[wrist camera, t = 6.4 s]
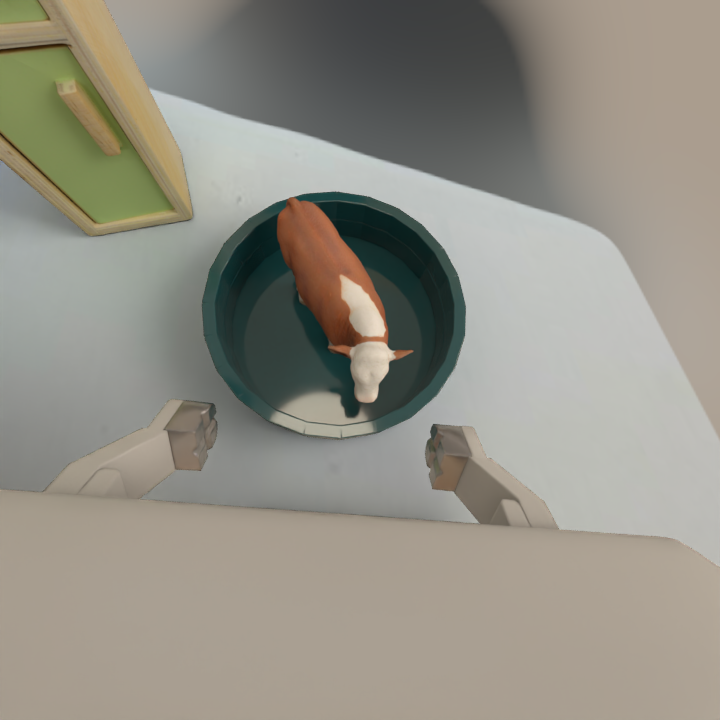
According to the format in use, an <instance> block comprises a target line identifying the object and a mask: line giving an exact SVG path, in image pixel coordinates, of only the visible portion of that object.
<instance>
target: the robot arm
mask: <svg viewBox="0 0 720 720" xmlns="http://www.w3.org/2000/svg"><path fill="white" fill-rule="evenodd" d="M215 414H216V408H215V405H214V404H213V403H205V402H197V401H188V400H186V401H185V400H177V399H170V400H168V401H167V403H166V404H165V405H164V406H163V408H162V409H161V410H160V412H159V413H158V414H157V415H156V417H155V418H154V419H153V421H152V422H151V423H150V424H149V426H148V427H147V428H141V429H139V430H137V431H135V432H133V433H131V434H129V435H127V436H125V437H123V438H121V439H119V440H117V441H115V442H113V443H111V444H109V445H107V446H104V447H102V448H100V449H98V450H96V451H94V452H92V453H90V454H88V455H86V456H84V457H82V458H80V459H78V460H76V461H74V462H72V463H70V464H68V465H67V466H66V467H65V468H64V469H63V470H62V472H61V473H60V474H59V475H58V476H57V477H56V478H55V479H54V480H53V481H52V482H51V483H50V484H49V485H48V486H47V487H46V489H45V490H44V491H43V492H34V491H20V490H6V489H0V720H720V567H719V566H717V565H716V564H714V563H713V562H711V561H710V560H708V559H707V558H706V557H704V556H703V555H701V554H700V553H698V552H697V551H695V550H693V549H692V548H690V547H688V546H687V545H685V544H683V543H682V542H680V541H678V540H675V539H671V538H667V537H658V536H642V535H628V534H614V533H601V532H587V531H573V530H559V528H558V526H557V524H556V522H555V520H554V518H553V517H552V515H551V513H550V511H549V509H548V507H547V506H546V504H545V502H544V501H543V500H542V499H540V498H539V497H538V496H537V495H536V494H534V493H533V492H532V491H531V490H529V489H528V488H527V487H526V486H524V485H523V484H522V483H521V482H519V481H518V480H517V479H516V478H514V477H513V476H512V475H511V474H510V473H508V472H507V471H506V470H505V469H503V468H502V467H501V466H500V465H498V464H497V463H496V462H495V461H493V460H492V459H491V458H487V457H486V454H485V452H484V450H483V448H482V445H481V443H480V441H479V439H478V436H477V434H476V432H475V430H474V428H473V427H468V426H451V425H440V424H433V426H432V428H431V431H430V433H431V438H430V439H429V440H428V441H427V444H426V449H425V459H426V464H427V466H428V467H429V468H430V472H429V478H430V482H431V486H432V489H435V490H445V491H454V493H455V494H456V495H457V496H458V498H459V499H460V500H461V501H462V502H463V504H464V505H465V506H466V507H467V508H468V510H469V511H470V512H471V513H472V514H473V516H474V517H475V518H476V519H477V520H478V522H479V523H480V524H476V523H462V522H448V521H434V520H419V519H406V518H392V517H379V516H365V515H352V514H338V513H324V512H310V511H296V510H282V509H268V508H254V507H240V506H227V505H213V504H199V503H185V502H171V501H157V500H144V499H140V498H141V497H142V496H143V495H145V494H146V493H147V492H149V491H150V490H151V489H153V488H154V487H155V486H156V485H158V484H159V483H160V482H162V481H163V480H164V479H166V478H167V477H168V476H170V475H171V474H172V473H173V472H175V470H194V471H201V469H202V467H203V465H204V463H205V461H206V459H207V457H208V453H207V450H209V449H210V448H212V447H213V445H214V443H215V441H216V437H217V431H218V424H217V421H216V420H215V419H214V418H213V417H214V415H215Z"/></svg>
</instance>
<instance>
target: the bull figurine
mask: <svg viewBox="0 0 720 720" xmlns="http://www.w3.org/2000/svg"><path fill="white" fill-rule="evenodd" d="M277 238H278V242H279V244H280V248H281V251H282V254H283V258H284V260H285V263H286V264H287V266H288V267H289V268H290V269H292V272H293V275H294V276H295V282H296V286H297V291H298V293H299V301H300V303H301V304H303V305H306V306H307V307H308V308H309V309H310V310H311V311H312V312H313V314H314V316H315V317H316V319H317V321H318V322H319V324H320V325H321V327H322V329H323V331H324V333H325V334H326V336H327V338H328V341H329V346H328V349H329V350H330V352H331V353H334V354H341V355H343V356H345V357H347V358H349V359H351V361H352V362H351V366H350V369H351V374H352V378H353V380H354V382H355V387H354V394H355V398H356V399H357V400H358V401H360V402H364V403H371V402H374V401H375V399H376V398H377V396H378V390H379V383H380V382H381V381H382V380H383V378H384V377H385V375H386V374H387V373H388V371H389V362H390V361H393V360H398V359H400V358H402V357H404V356H406V355H408V354H410V353H412V352H413V350H396V351H392V350H390V349H389V348H388V346H387V345H388V327H387V324H386V319H385V310H384V307H383V304H382V302H381V300H380V298H379V296H378V294H377V292H376V291H375V288H374V286H373V283H372V281H371V279H370V277H369V275H368V274H367V272H366V270H365V269H364V267H363V265H362V263H361V262H360V260H359V259H358V257H357V256H356V255H355V254H354V252H353V251H352V250H351V249H350V248H349V247H348V246H347V244H346V243H345V242H344V241H343V240H342V239H341V238H340V236H339V233H338V231H337V230H336V228H335V227H334V225H333V224H332V222H331V221H330V220H329V218H328V217H327V216H326V215H325V213H324V212H323V211H322V210H321V209H320V208H318V207H317V206H316V205H315V204H313V203H311V202H308V201H301V202H299V201H298V200H297V199H296V198H294V197H290V198H289V199H288V200H287V203H286V208H285V209H283V210H282V211H281V212H280V213H279V215H278V219H277Z"/></svg>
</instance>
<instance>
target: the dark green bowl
mask: <svg viewBox="0 0 720 720" xmlns="http://www.w3.org/2000/svg"><path fill="white" fill-rule="evenodd" d="M294 198H296V199H297V200H298V201H299V202H301V201H308V202H311V203H313V204H315V205H316V206H317V207H318V208H320V209H321V210H322V211H323V212H324V213H325V215H326V216H327V217H328V218H329V220H330V221H331V222H332V224H333V225H334V227H335V228H336V230H337V231H338V233H339V236H340V238H341V239H342V240H343V241H344V242H345V243H346V244H347V246H348V247H349V248H350V249H351V250H352V251H353V252H354V254H355V255H356V256H357V257H358V259H359V260H360V262H361V263H362V265H363V267H364V269H365V270H366V272H367V274H368V275H369V277H370V279H371V281H372V283H373V286H374V288H375V291H376V292H377V294H378V296H379V298H380V300H381V302H382V304H383V307H384V310H385V319H386V324H387V327H388V345H387V346H388V348H389V349H390V350H392V351H396V350H413V352H412V353H410V354H408V355H406V356H404V357H402V358H400V359H398V360H393V361H390V362H389V371H388V373H387V374H386V375H385V377H384V378H383V380H382V381H381V382H380V383H379V390H378V396H377V398H376V399H375V401H374V402H371V403H364V402H360V401H358V400H357V399H356V398H355V394H354V387H355V382H354V380H353V378H352V374H351V369H350V366H351V362H352V361H351V359H349V358H347V357H345V356H343V355H341V354H334V353H331V352H330V350H329V349H328V346H329V341H328V338H327V336H326V334H325V333H324V331H323V329H322V327H321V325H320V324H319V322H318V321H317V319H316V317H315V316H314V314H313V312H312V311H311V310H310V309H309V308H308V307H307V306H306V305H303V304H301V303H300V301H299V293H298V291H297V286H296V282H295V276H294V275H293V272H292V269H290V268H289V267H288V266H287V264H286V263H285V260H284V258H283V254H282V251H281V248H280V244H279V242H278V238H277V219H278V215H279V213H280V212H281V211H282V210H283V209H285V208H286V203H287V200H288V199H286V200H283V201H280V202H277V203H275V204H273V205H271V206H269V207H268V208H266V209H264V210H263V211H261V212H259V213H258V214H256V215H254V216H253V217H251V218H249V219H248V220H247V221H246V222H245V223H244V224H243V225H242V226H241V227H240V228H239V229H238V230H237V231H236V232H235V233H234V234H233V235H232V236H231V237H230V238H229V239H228V240H227V241H226V243H224V245H223V247H222V249H221V250H220V252H219V254H218V256H217V258H216V259H215V261H214V263H213V265H212V266H211V268H210V271H209V274H208V278H207V283H206V287H205V291H204V296H203V300H202V314H203V330H204V337H205V341H206V344H207V346H208V349H209V352H210V354H211V357H212V360H213V362H214V365H215V368H216V369H217V372H218V373H219V374H220V376H221V377H222V378H223V380H224V381H225V382H226V384H227V385H228V386H229V388H230V389H231V390H232V392H233V393H234V394H235V396H236V397H237V398H238V399H239V400H240V401H242V402H243V403H244V404H246V405H247V406H248V407H250V408H251V409H252V410H253V411H255V412H256V413H257V414H259V415H260V416H261V417H263V418H264V419H265V420H267V421H269V422H271V423H273V424H276V425H278V426H280V427H283V428H286V429H288V430H291V431H293V432H296V433H298V434H301V435H303V436H307V437H313V438H322V439H332V440H343V439H349V438H355V437H361V436H367V435H371V434H376V433H379V432H381V431H383V430H386V429H388V428H390V427H392V426H394V425H396V424H399V423H401V422H403V421H405V420H407V419H409V418H410V417H412V416H414V415H415V414H416V413H417V412H418V411H419V410H420V409H422V408H423V407H424V406H425V405H426V404H427V403H429V402H430V401H431V400H432V399H433V398H434V397H436V396H437V394H438V393H439V392H440V390H441V389H442V387H443V386H444V384H445V382H446V381H447V379H448V378H449V376H450V375H451V373H452V372H453V370H454V369H455V366H456V364H457V360H458V357H459V354H460V351H461V347H462V344H463V341H464V336H465V315H466V305H465V301H464V297H463V293H462V289H461V285H460V281H459V277H458V276H457V275H458V274H457V272H456V270H455V268H454V267H453V265H452V263H451V261H450V259H449V257H448V255H447V254H446V252H445V250H444V249H443V247H442V246H441V245H440V244H439V243H438V242H437V241H436V239H435V238H434V237H433V236H432V235H431V234H430V233H429V232H428V231H427V230H426V229H425V227H424V226H422V224H420V223H419V222H417V221H416V220H414V219H413V218H411V217H410V216H409V215H407V214H406V213H404V212H403V211H401V210H400V209H398V208H396V207H394V206H391V205H389V204H386V203H384V202H381V201H378V200H376V199H373V198H371V197H367V196H362V195H355V194H349V193H342V192H323V193H309V194H303V195H299V196H296V197H294Z"/></svg>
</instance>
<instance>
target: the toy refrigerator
mask: <svg viewBox="0 0 720 720" xmlns="http://www.w3.org/2000/svg"><path fill="white" fill-rule="evenodd" d="M0 160H1V161H3V162H4V163H5V164H6V165H7V166H8V167H10V168H11V169H12V170H13V171H14V172H15V173H16V174H18V175H19V176H20V177H21V178H22V179H23V180H25V181H26V182H27V183H28V184H29V185H30V186H32V187H33V188H34V189H35V190H36V191H37V192H38V193H40V194H41V195H42V196H43V197H44V198H45V199H47V200H48V201H49V202H50V203H51V204H52V205H54V206H55V207H56V208H57V209H58V210H59V211H61V212H62V213H63V214H64V215H65V216H66V217H68V218H69V219H70V220H71V221H72V222H73V223H75V224H76V225H77V226H78V227H79V228H80V229H82V230H83V231H84V232H85V233H86V234H88V235H89V236H97V235H104V234H109V233H115V232H121V231H126V230H132V229H137V228H143V227H148V226H154V225H160V224H166V223H172V222H178V221H184V220H189V219H191V218H192V216H193V212H192V206H191V200H190V195H189V190H188V185H187V180H186V175H185V170H184V165H183V160H182V156H181V152H180V149H179V147H178V145H177V143H176V141H175V140H174V138H173V136H172V134H171V132H170V130H169V128H168V126H167V124H166V122H165V120H164V118H163V116H162V114H161V112H160V110H159V108H158V106H157V104H156V102H155V100H154V98H153V96H152V94H151V92H150V90H149V88H148V86H147V84H146V83H145V81H144V79H143V77H142V75H141V73H140V71H139V69H138V67H137V65H136V63H135V61H134V59H133V57H132V55H131V53H130V51H129V49H128V47H127V45H126V43H125V41H124V39H123V37H122V35H121V33H120V31H119V29H118V28H117V25H116V23H115V22H114V20H113V18H112V16H111V14H110V12H109V10H108V8H107V6H106V4H105V2H104V0H0Z"/></svg>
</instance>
